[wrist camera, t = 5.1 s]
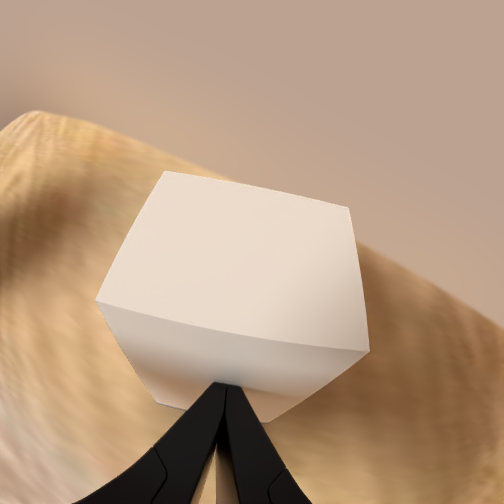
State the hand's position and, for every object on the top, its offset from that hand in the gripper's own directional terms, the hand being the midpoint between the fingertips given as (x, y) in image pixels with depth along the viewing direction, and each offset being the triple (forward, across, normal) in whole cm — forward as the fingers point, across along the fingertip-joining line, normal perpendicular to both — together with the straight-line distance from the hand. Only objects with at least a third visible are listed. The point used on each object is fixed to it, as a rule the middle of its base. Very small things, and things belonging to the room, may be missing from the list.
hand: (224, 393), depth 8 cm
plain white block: (+5, 0, +4) cm, 7 cm away
